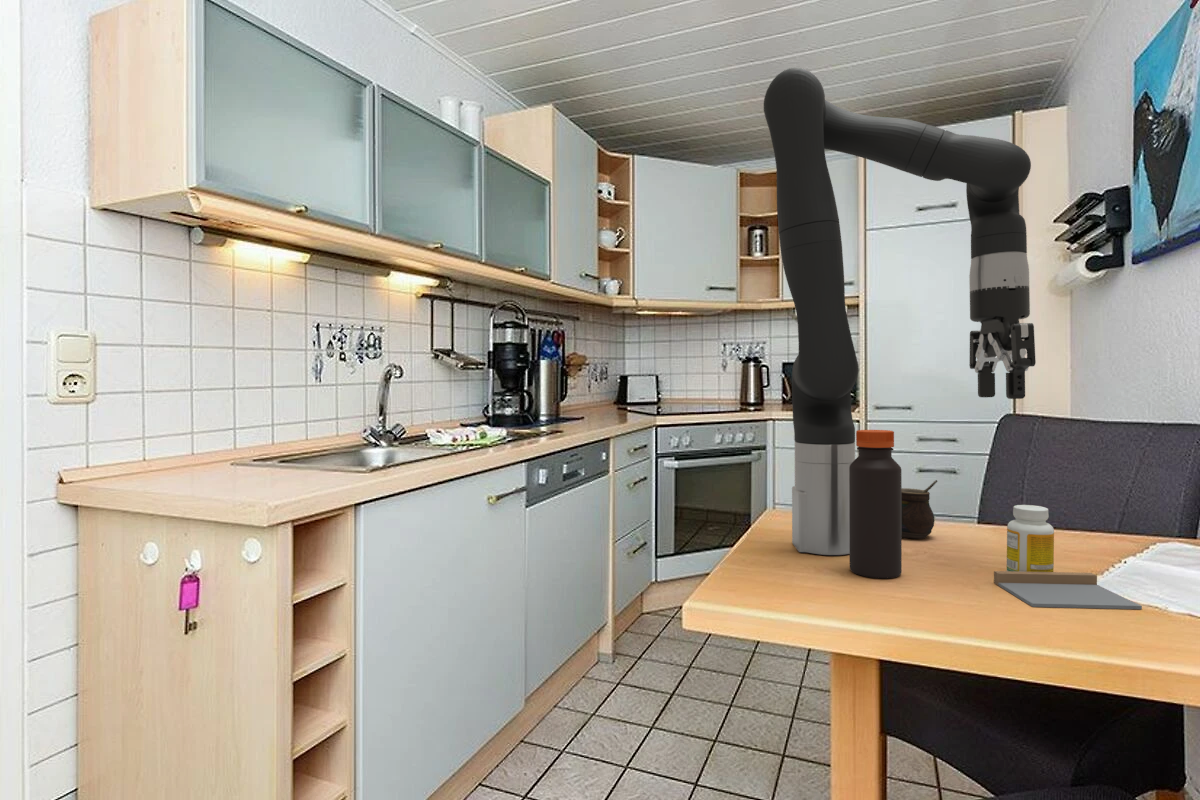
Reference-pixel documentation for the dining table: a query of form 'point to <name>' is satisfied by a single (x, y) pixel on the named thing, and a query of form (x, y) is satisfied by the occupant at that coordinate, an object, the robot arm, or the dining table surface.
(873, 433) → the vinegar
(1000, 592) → the dining table surface
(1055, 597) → the plate
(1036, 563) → the supplement bottle
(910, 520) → the mate gourd
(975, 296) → the robot arm
